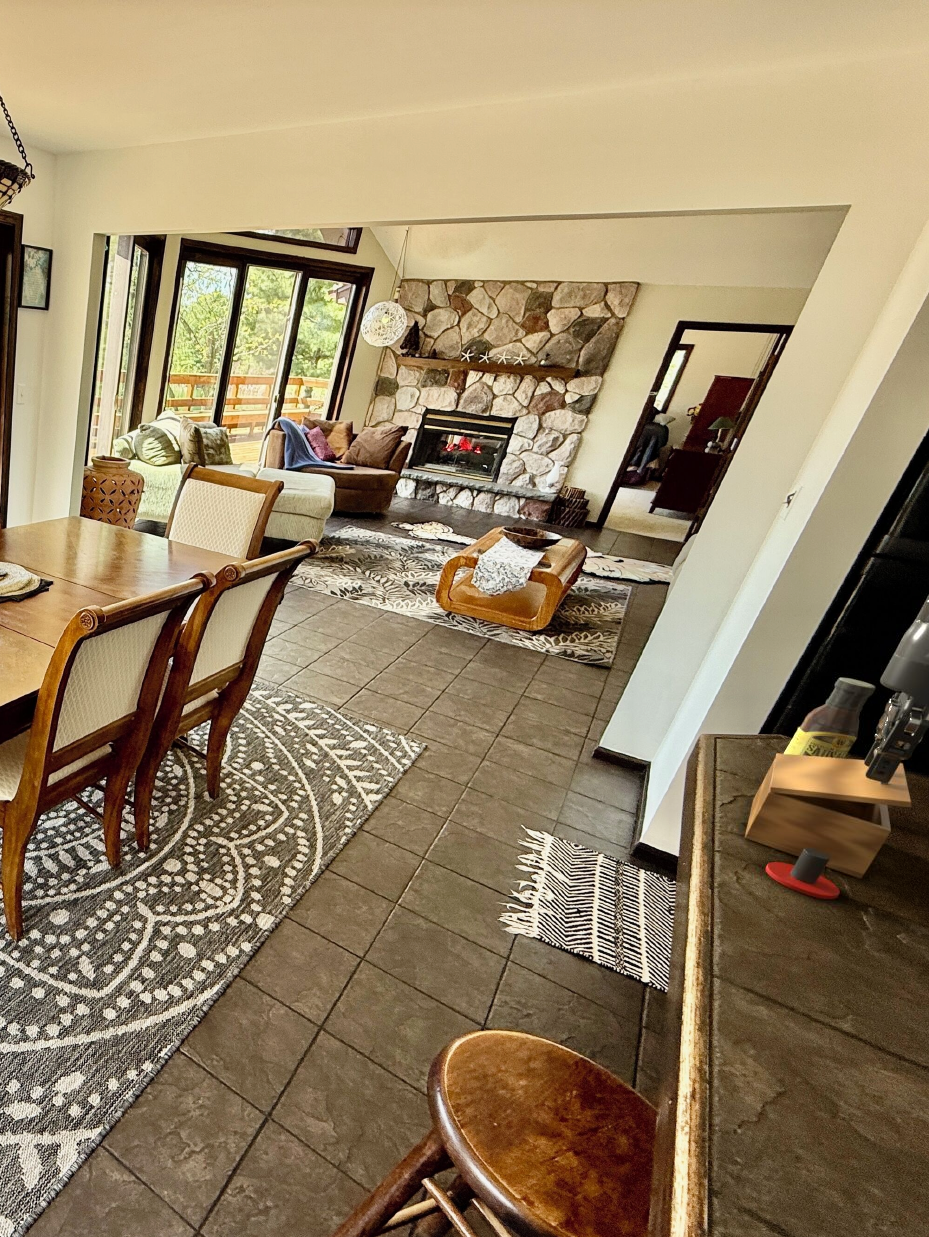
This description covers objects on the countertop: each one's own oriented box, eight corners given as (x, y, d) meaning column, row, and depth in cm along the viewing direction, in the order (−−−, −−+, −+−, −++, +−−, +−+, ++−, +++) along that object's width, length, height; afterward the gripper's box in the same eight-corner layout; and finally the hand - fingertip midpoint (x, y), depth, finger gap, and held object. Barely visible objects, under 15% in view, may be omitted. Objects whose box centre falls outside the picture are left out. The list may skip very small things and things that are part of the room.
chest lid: (902, 768, 99) (904, 736, 99) (910, 807, 89) (912, 772, 88) (776, 757, 109) (777, 728, 108) (770, 792, 98) (771, 759, 97)
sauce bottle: (782, 795, 114) (842, 685, 106) (758, 777, 119) (813, 671, 112) (832, 804, 112) (896, 692, 105) (805, 785, 118) (864, 678, 110)
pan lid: (828, 879, 93) (845, 851, 91) (845, 906, 88) (863, 877, 86) (759, 859, 96) (775, 831, 95) (772, 884, 91) (788, 855, 89)
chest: (858, 834, 104) (885, 789, 101) (861, 879, 93) (891, 830, 90) (753, 800, 112) (775, 758, 109) (744, 837, 101) (768, 792, 98)
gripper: (993, 680, 83) (920, 802, 89) (978, 656, 92) (912, 768, 98) (898, 661, 88) (835, 778, 94) (892, 641, 97) (835, 748, 103)
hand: (875, 772), depth 96 cm, fingers closed on chest lid, 5 cm apart
